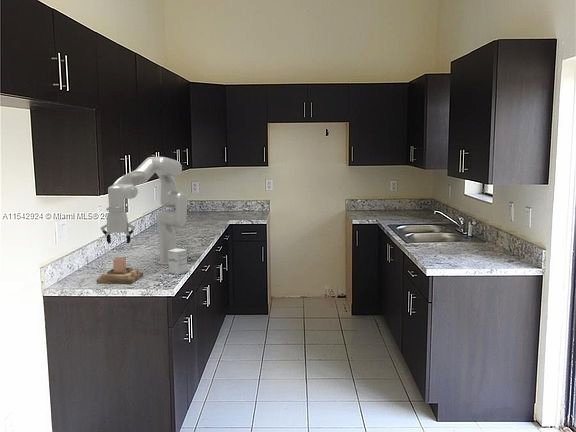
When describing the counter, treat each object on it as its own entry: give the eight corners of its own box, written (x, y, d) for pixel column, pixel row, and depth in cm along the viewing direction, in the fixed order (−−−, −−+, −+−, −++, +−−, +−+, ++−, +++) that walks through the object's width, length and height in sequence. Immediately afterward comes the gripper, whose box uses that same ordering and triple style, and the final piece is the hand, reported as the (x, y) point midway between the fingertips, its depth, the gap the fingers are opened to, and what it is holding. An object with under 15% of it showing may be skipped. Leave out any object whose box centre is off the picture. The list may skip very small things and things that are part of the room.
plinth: (110, 275, 283) (110, 266, 282) (143, 276, 281) (142, 266, 280) (96, 283, 267) (96, 273, 266) (130, 284, 265) (130, 274, 264)
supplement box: (168, 272, 288) (167, 250, 286) (178, 270, 294) (177, 247, 292) (178, 274, 284) (177, 251, 282) (187, 271, 290) (187, 249, 288)
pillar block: (116, 270, 276) (116, 257, 275) (126, 270, 276) (125, 257, 275) (113, 273, 271) (113, 259, 270) (123, 272, 271) (122, 259, 270)
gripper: (97, 211, 265) (99, 244, 268) (132, 210, 265) (133, 244, 268) (102, 209, 272) (104, 241, 275) (135, 208, 273) (137, 241, 275)
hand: (118, 243), depth 271 cm, fingers open, 9 cm apart
